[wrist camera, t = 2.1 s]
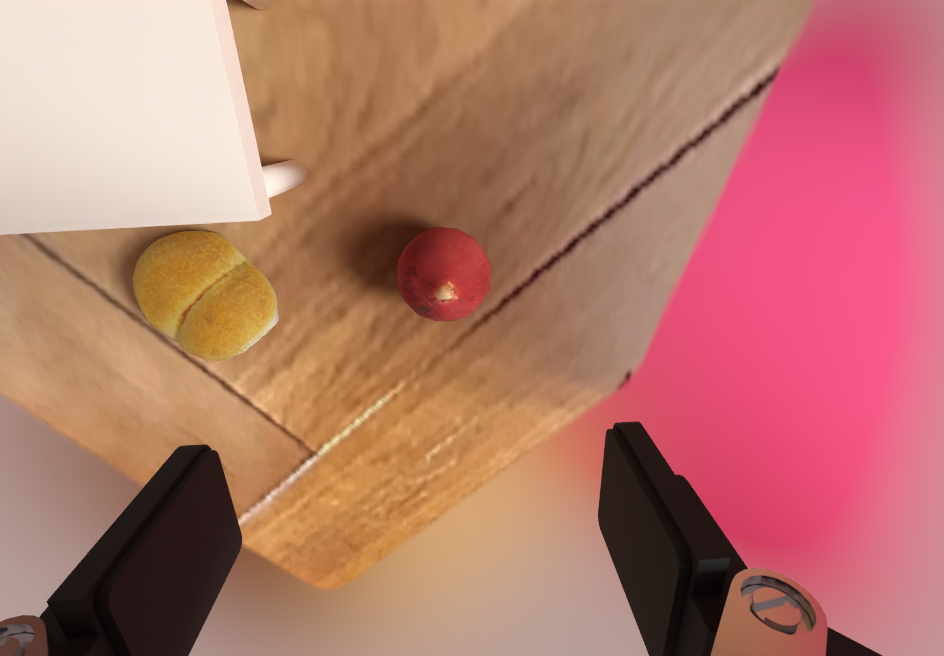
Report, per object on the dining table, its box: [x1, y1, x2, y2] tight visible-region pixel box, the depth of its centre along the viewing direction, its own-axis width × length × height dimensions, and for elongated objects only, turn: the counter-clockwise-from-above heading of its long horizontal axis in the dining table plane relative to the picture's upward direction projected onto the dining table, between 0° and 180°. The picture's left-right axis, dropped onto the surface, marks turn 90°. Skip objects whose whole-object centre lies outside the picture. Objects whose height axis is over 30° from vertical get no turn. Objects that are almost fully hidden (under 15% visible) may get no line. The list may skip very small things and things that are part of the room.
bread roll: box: [133, 231, 279, 361], centre depth 31 cm, size 8×9×4 cm
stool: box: [0, 0, 307, 235], centre depth 24 cm, size 12×12×10 cm
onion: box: [397, 227, 491, 321], centre depth 29 cm, size 6×6×8 cm
